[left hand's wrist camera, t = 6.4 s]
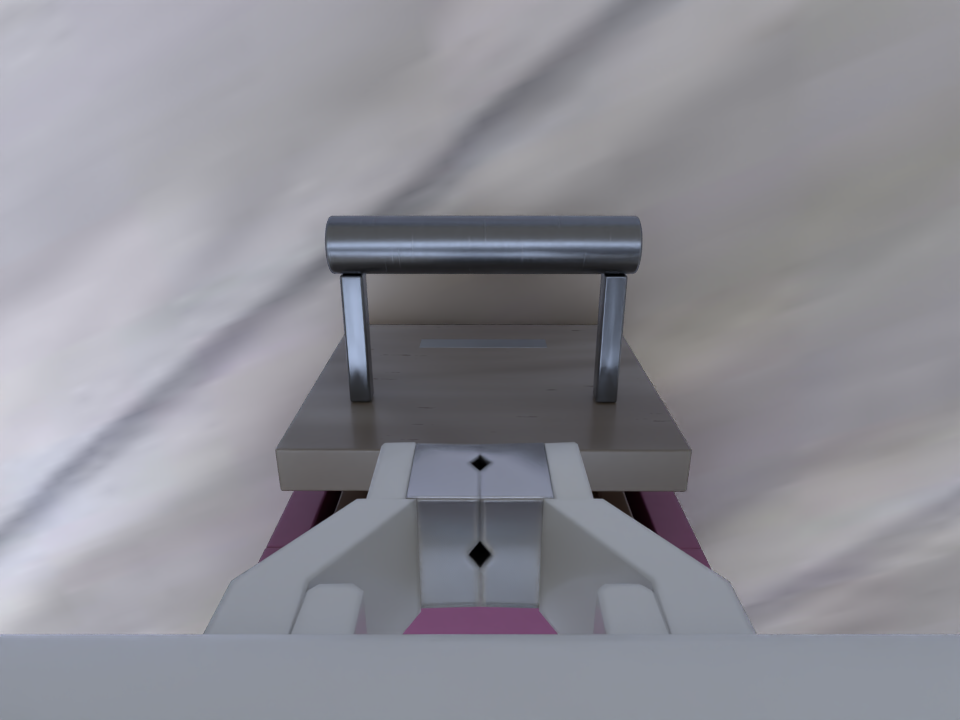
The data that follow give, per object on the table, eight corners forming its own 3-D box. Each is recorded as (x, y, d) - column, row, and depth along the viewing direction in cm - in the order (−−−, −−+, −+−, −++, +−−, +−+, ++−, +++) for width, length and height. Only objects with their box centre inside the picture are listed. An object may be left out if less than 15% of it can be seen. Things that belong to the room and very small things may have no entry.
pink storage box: (345, 383, 27) (251, 573, 16) (621, 383, 26) (715, 575, 16) (374, 723, 34) (323, 1012, 23) (591, 724, 34) (641, 1013, 23)
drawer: (338, 185, 23) (245, 238, 14) (628, 185, 23) (722, 238, 14) (378, 679, 31) (336, 906, 22) (587, 679, 31) (629, 908, 22)
